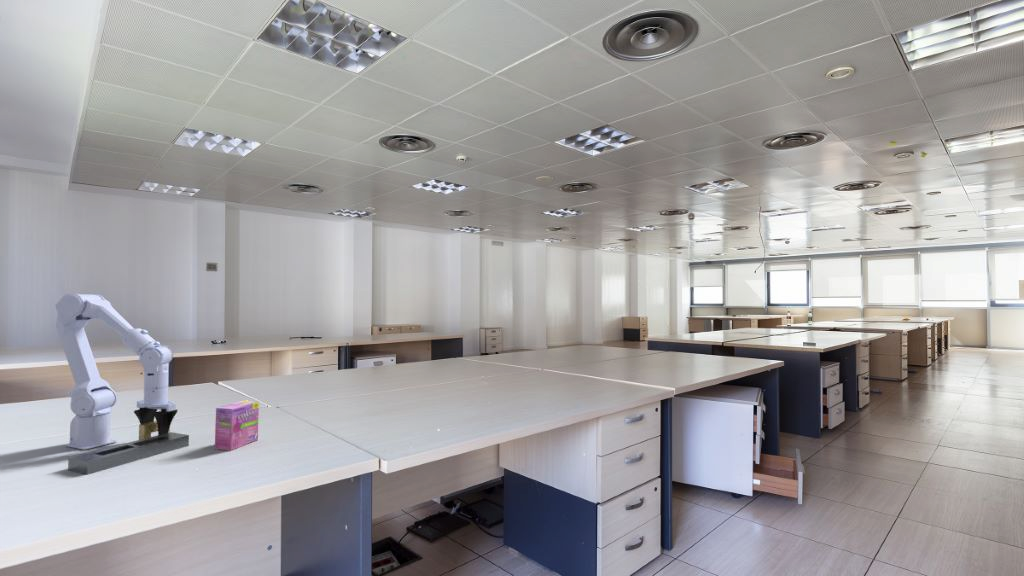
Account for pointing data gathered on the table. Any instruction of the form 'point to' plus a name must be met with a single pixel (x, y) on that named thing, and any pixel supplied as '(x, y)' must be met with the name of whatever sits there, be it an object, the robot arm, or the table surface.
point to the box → (236, 425)
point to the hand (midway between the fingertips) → (155, 433)
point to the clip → (148, 429)
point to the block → (126, 453)
